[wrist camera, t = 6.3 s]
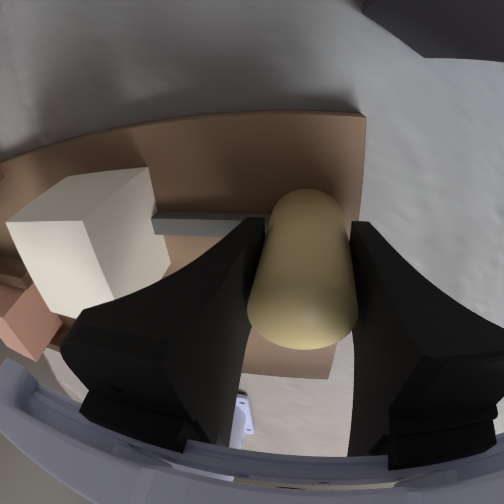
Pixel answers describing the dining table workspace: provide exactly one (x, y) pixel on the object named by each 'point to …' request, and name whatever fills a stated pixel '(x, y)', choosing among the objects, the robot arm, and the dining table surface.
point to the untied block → (26, 320)
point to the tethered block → (188, 224)
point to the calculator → (444, 26)
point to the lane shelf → (205, 188)
